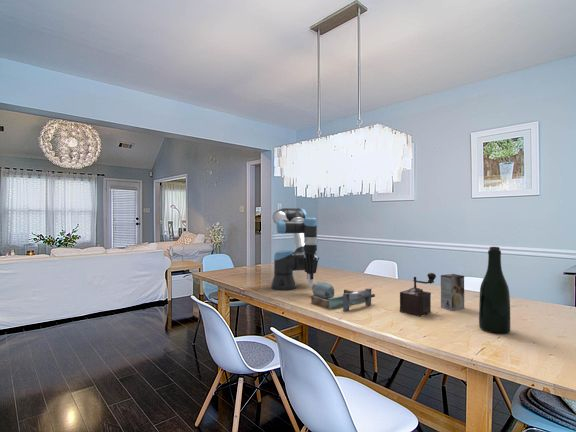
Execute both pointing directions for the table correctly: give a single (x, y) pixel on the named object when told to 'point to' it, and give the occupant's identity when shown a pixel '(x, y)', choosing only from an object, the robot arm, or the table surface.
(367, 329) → the table surface
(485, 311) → the dark green wine bottle
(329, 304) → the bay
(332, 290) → the grey rounded barrel
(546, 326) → the table surface
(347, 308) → the grey clamp
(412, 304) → the manual coffee grinder
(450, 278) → the coffee box
